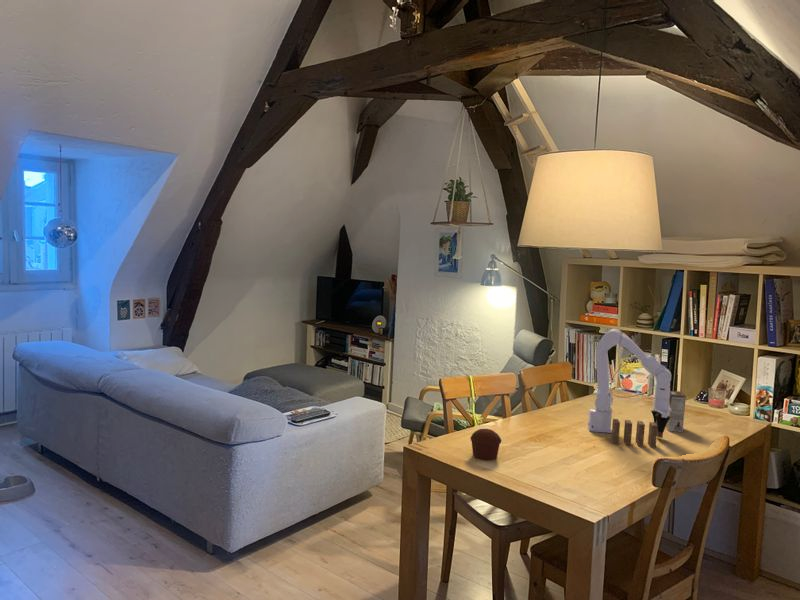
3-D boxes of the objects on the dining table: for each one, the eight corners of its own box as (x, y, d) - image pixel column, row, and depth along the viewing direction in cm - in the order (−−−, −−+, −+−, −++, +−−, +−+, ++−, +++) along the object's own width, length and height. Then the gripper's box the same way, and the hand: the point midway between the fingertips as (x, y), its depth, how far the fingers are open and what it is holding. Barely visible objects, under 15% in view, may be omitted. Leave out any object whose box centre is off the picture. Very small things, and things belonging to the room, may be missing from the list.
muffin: (507, 458, 235) (508, 431, 234) (486, 464, 228) (487, 437, 227) (483, 449, 244) (485, 423, 243) (463, 454, 237) (464, 428, 236)
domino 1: (613, 444, 256) (614, 422, 255) (611, 440, 261) (612, 418, 260) (618, 444, 256) (619, 422, 255) (616, 440, 261) (617, 419, 260)
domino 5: (657, 437, 262) (659, 416, 262) (654, 433, 267) (656, 412, 266) (662, 437, 262) (664, 416, 261) (659, 434, 267) (661, 413, 266)
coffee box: (663, 425, 286) (666, 390, 284) (678, 426, 285) (681, 391, 283) (667, 431, 277) (670, 394, 275) (683, 432, 276) (686, 396, 274)
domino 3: (637, 446, 254) (639, 424, 254) (635, 442, 259) (637, 420, 258) (643, 446, 254) (644, 424, 253) (640, 442, 259) (642, 421, 258)
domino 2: (625, 445, 255) (627, 423, 254) (623, 441, 260) (624, 419, 259) (630, 445, 255) (632, 423, 254) (628, 441, 260) (630, 420, 259)
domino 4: (650, 447, 254) (652, 425, 253) (647, 443, 258) (649, 421, 258) (655, 447, 253) (657, 425, 252) (652, 443, 258) (654, 422, 257)
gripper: (676, 403, 255) (673, 436, 257) (667, 394, 270) (665, 425, 271) (657, 401, 257) (655, 434, 258) (650, 393, 271) (647, 424, 272)
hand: (659, 430), depth 265 cm, fingers closed on domino 5, 5 cm apart
